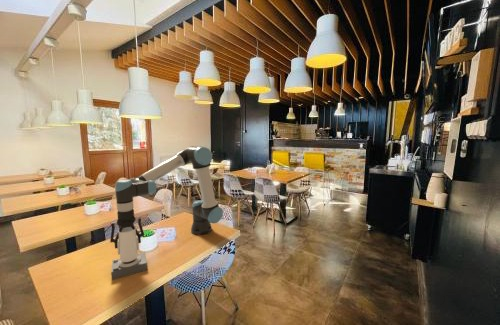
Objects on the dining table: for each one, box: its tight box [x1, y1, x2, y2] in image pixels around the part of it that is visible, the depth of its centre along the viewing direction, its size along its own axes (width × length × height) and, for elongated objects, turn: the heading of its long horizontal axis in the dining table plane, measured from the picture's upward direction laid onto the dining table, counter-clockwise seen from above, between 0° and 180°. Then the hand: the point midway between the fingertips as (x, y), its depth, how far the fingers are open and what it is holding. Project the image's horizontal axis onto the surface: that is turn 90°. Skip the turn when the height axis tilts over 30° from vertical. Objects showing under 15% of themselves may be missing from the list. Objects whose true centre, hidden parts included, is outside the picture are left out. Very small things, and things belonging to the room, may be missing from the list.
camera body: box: [110, 252, 148, 281], centre depth 116 cm, size 16×12×5 cm
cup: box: [117, 226, 139, 262], centre depth 115 cm, size 8×8×16 cm
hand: (128, 251), depth 116 cm, fingers closed on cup, 8 cm apart
